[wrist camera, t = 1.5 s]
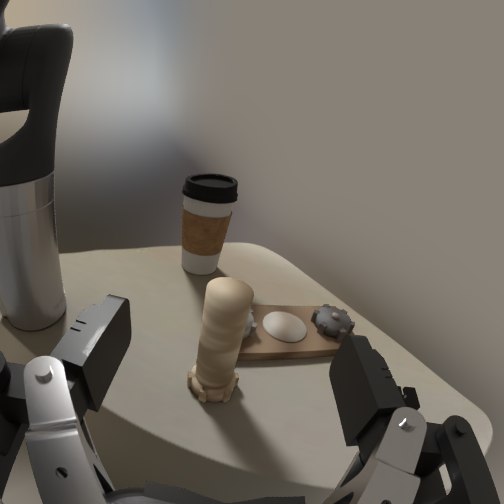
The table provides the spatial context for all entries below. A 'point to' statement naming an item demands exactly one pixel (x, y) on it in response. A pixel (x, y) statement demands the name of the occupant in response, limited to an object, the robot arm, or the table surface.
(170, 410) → the table surface
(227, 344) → the spindle gear
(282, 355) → the gear board
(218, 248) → the coffee cup
